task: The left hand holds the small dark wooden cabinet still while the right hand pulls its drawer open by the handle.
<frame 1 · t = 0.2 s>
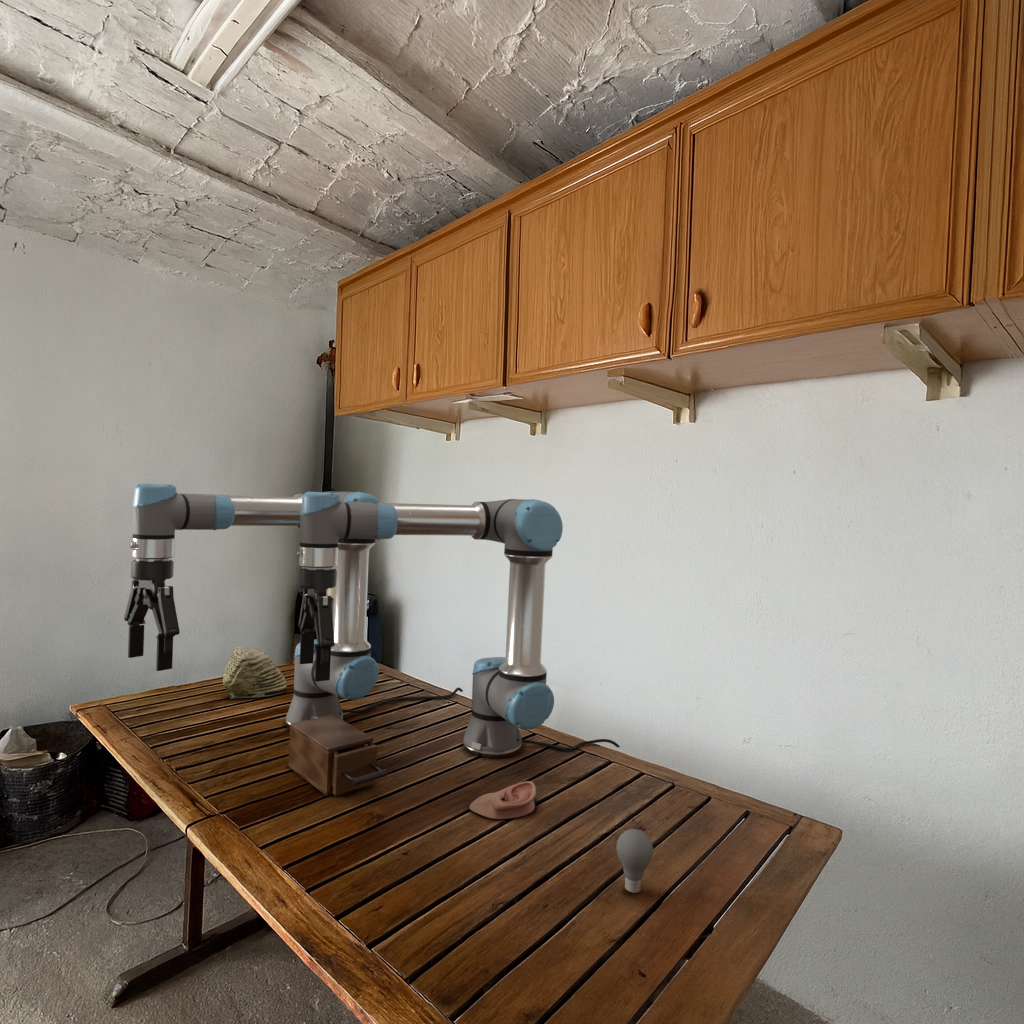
left hand: (149, 663, 129), 28 cm above the table, tool pointing down, fingers open, 13 cm apart
right hand: (313, 671, 129), 28 cm above the table, tool pointing down, fingers open, 13 cm apart
cabinet: (329, 774, 145), on the table
drawer: (343, 761, 140), point 5 cm above the table, slide at 1.5 cm
anatomical model: (502, 807, 133), on the table
fossil: (254, 694, 198), on the table
light bulb: (632, 891, 106), on the table
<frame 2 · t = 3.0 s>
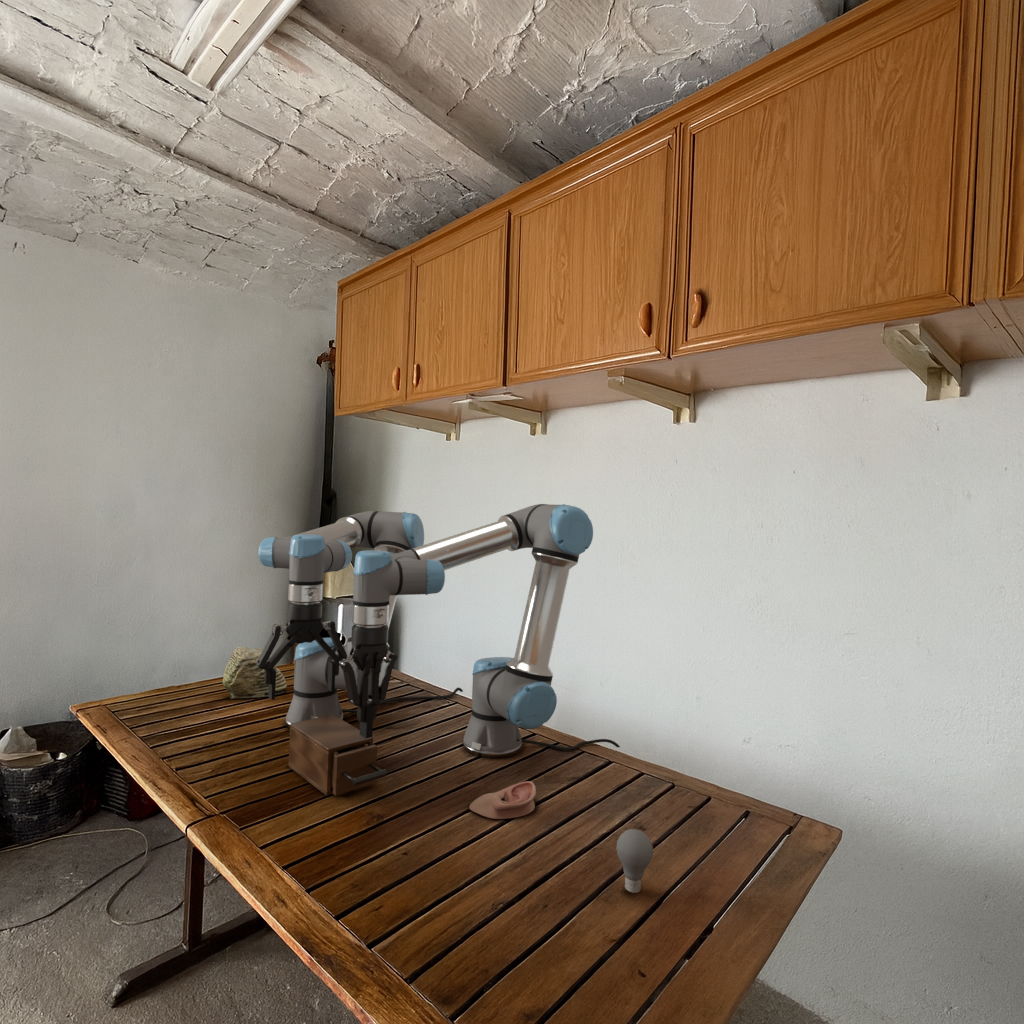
left hand: (302, 693, 146), 18 cm above the table, tool pointing down, fingers open, 13 cm apart
right hand: (365, 735, 133), 13 cm above the table, tool pointing down, fingers closed
nothing on the table moved.
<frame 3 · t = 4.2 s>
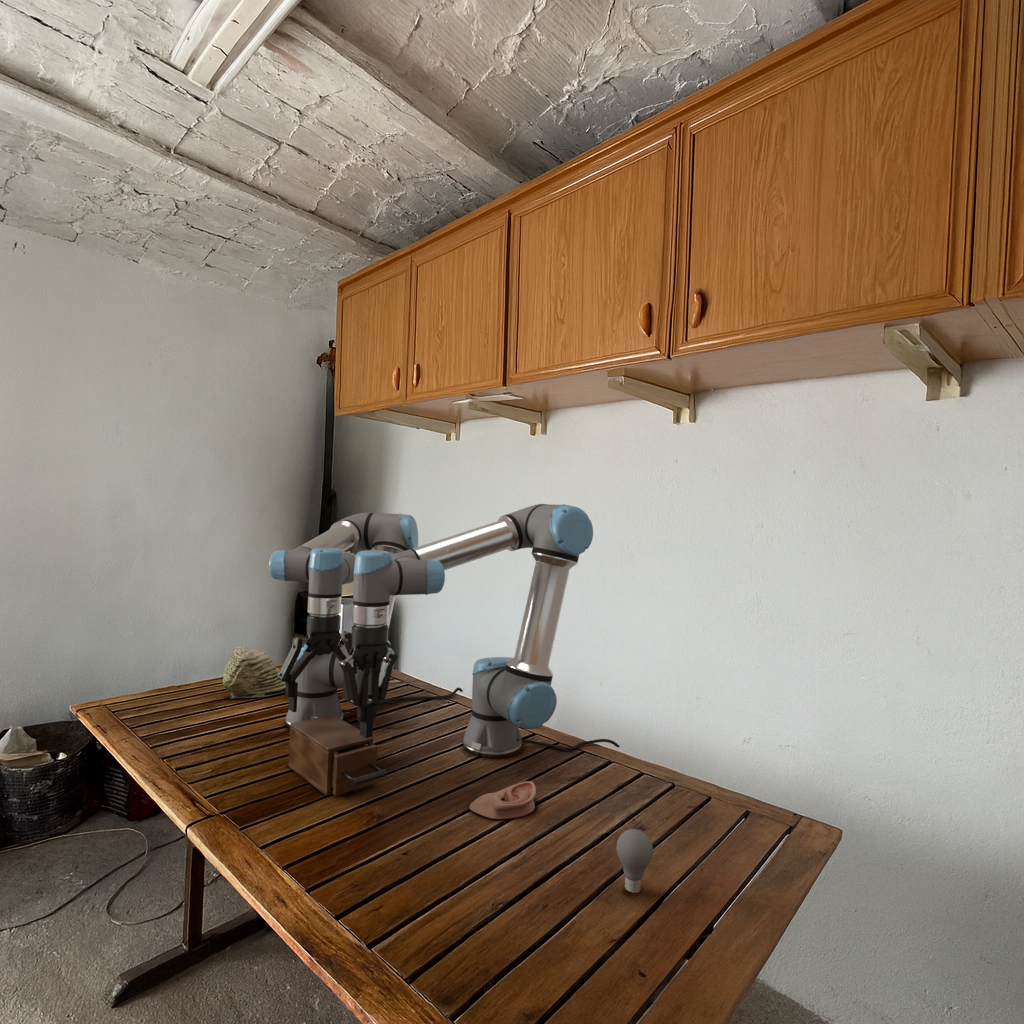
left hand: (320, 705, 148), 15 cm above the table, tool pointing down, fingers open, 13 cm apart
right hand: (365, 735, 133), 13 cm above the table, tool pointing down, fingers closed
nothing on the table moved.
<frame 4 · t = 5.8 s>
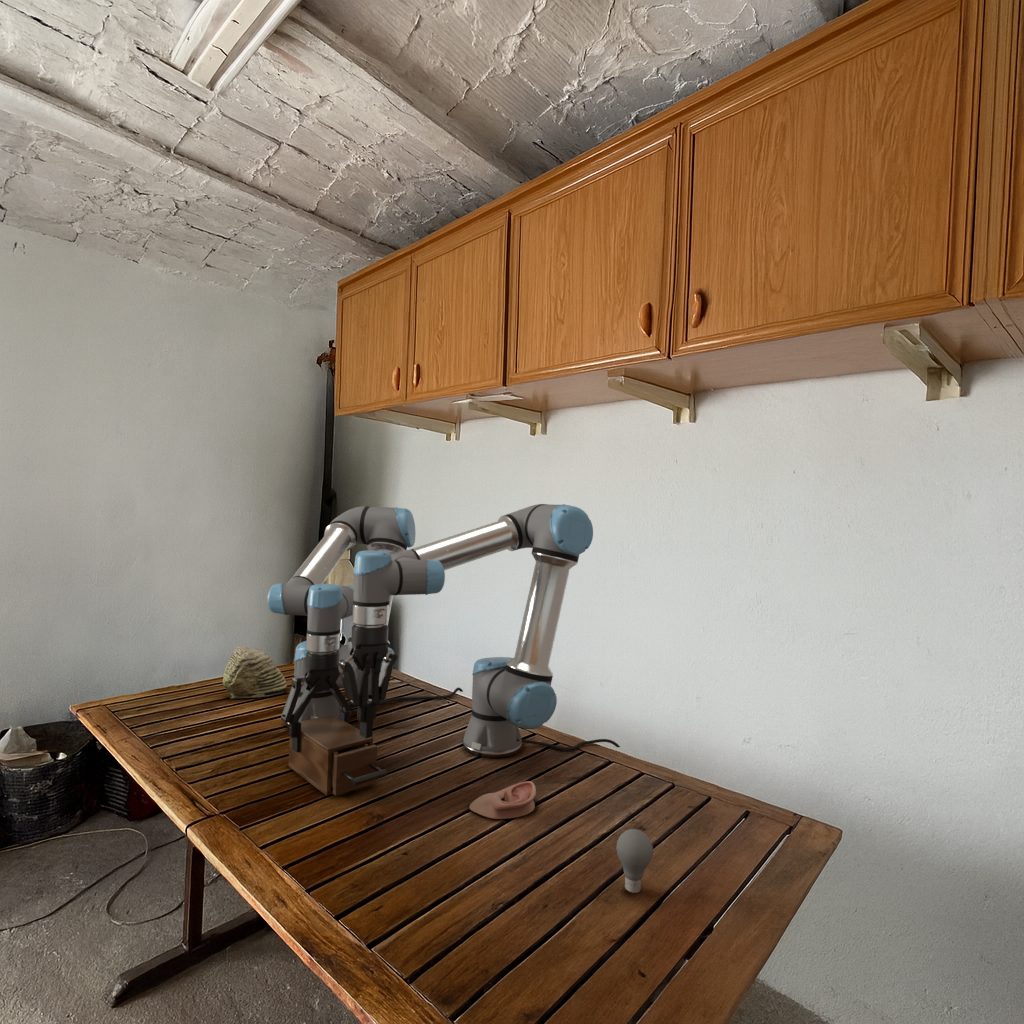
left hand: (319, 744, 148), 5 cm above the table, tool pointing down, fingers closed on cabinet, 11 cm apart
right hand: (365, 735, 133), 13 cm above the table, tool pointing down, fingers closed
cabinet: (329, 774, 145), on the table, touching left hand
everything else where it was.
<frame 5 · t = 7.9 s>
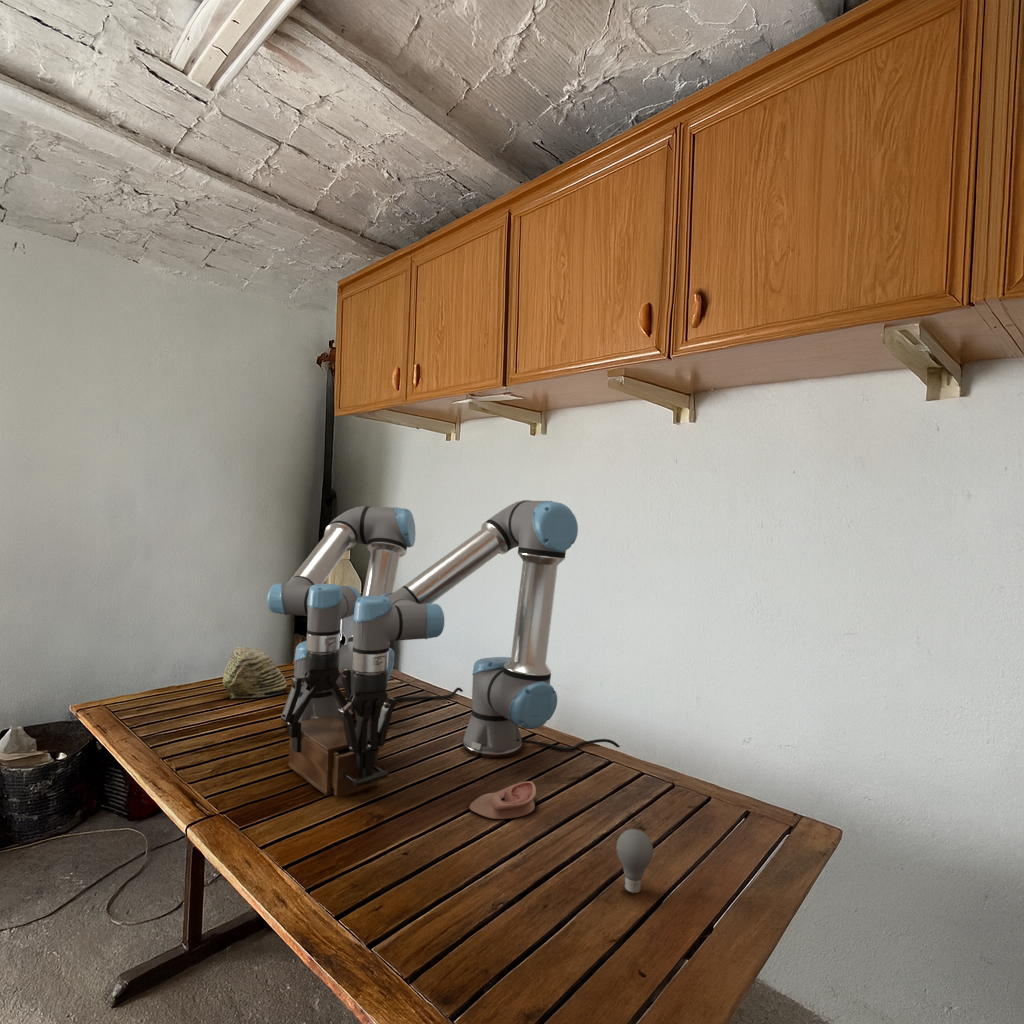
left hand: (319, 744, 148), 5 cm above the table, tool pointing down, fingers closed on cabinet, 11 cm apart
right hand: (364, 781, 133), 4 cm above the table, tool pointing down, fingers closed
cabinet: (329, 774, 145), on the table, touching left hand
drawer: (344, 762, 140), point 5 cm above the table, slide at 2.0 cm, touching right hand
everything else where it was.
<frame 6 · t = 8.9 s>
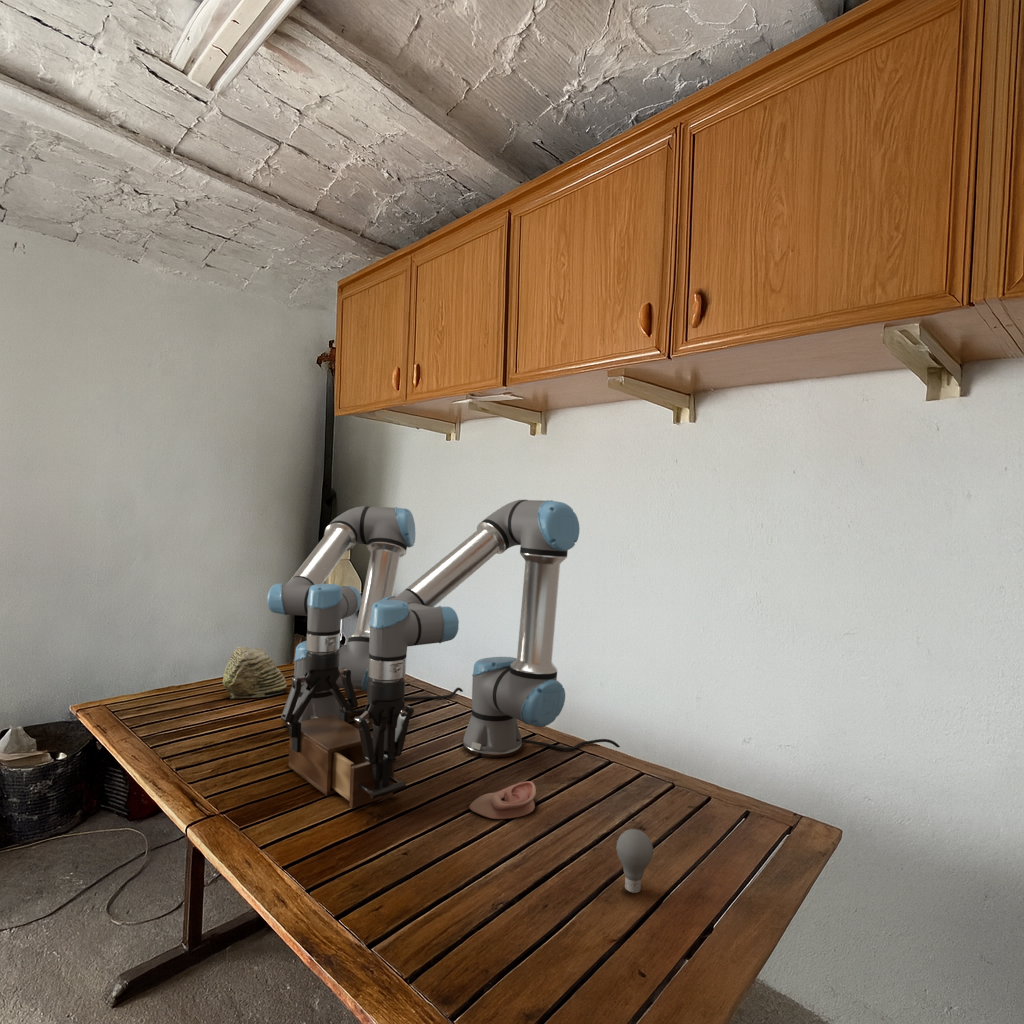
left hand: (319, 744, 148), 5 cm above the table, tool pointing down, fingers closed on cabinet, 11 cm apart
right hand: (381, 793, 129), 4 cm above the table, tool pointing down, fingers closed
cabinet: (329, 774, 145), on the table, touching left hand
drawer: (359, 772, 135), point 5 cm above the table, slide at 8.5 cm, touching right hand
everything else where it was.
when the left hand's fingers open (5 cm above the table, at t = 10.8 s): cabinet stays where it is, on the table.
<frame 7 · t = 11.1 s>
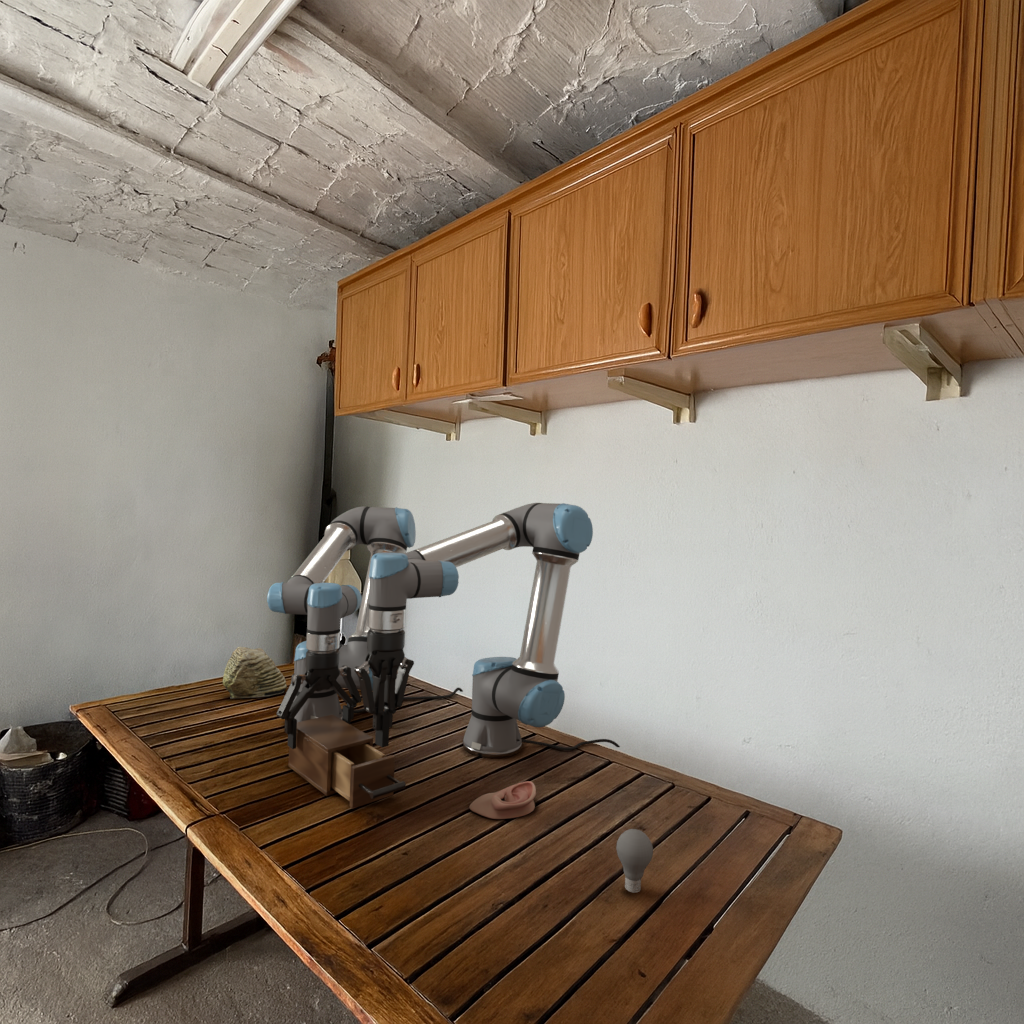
left hand: (319, 740, 148), 6 cm above the table, tool pointing down, fingers open, 13 cm apart
right hand: (381, 744, 129), 14 cm above the table, tool pointing down, fingers closed
cabinet: (329, 774, 145), on the table
drawer: (359, 772, 135), point 5 cm above the table, slide at 8.5 cm
everything else where it was.
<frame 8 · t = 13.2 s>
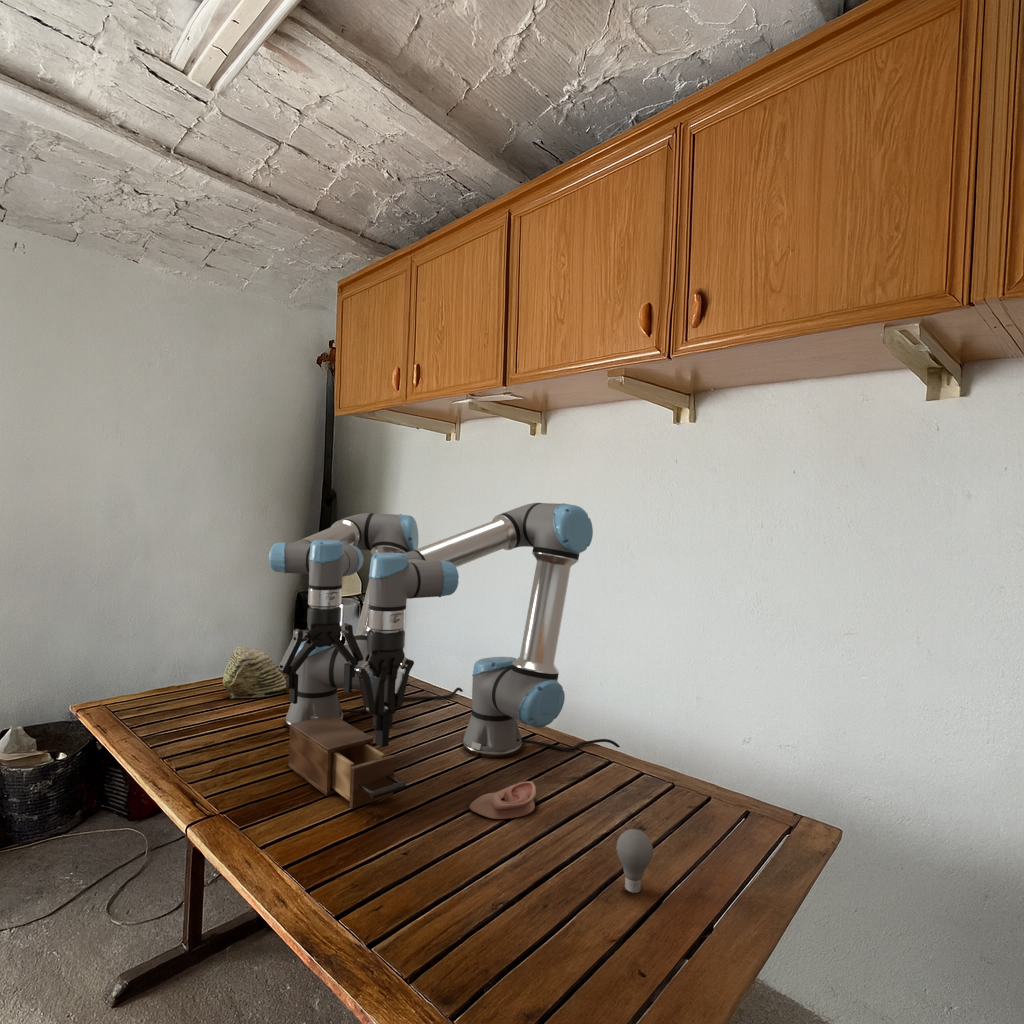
left hand: (321, 696, 148), 16 cm above the table, tool pointing down, fingers open, 13 cm apart
right hand: (381, 744, 129), 14 cm above the table, tool pointing down, fingers closed
nothing on the table moved.
at the end: drawer slide at 8.5 cm; cabinet tilted 0°; cabinet never tilted more than 1° during the clip; cabinet moved 0.1 cm from its start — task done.
